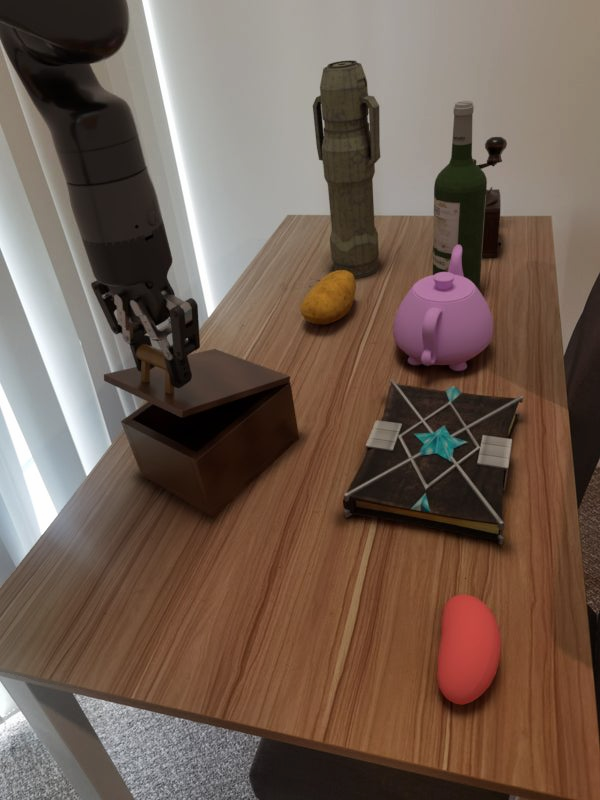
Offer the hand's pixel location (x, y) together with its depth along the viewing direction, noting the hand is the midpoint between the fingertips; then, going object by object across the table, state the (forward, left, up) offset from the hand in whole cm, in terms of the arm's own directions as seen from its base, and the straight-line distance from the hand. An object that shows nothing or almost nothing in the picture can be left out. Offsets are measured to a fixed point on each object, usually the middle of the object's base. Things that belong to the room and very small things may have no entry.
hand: (165, 375), depth 65 cm
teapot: (+31, -28, -16) cm, 45 cm away
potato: (+40, -9, -16) cm, 44 cm away
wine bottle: (+49, -29, -16) cm, 59 cm away
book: (+6, -29, -16) cm, 33 cm away
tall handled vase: (+58, -10, -16) cm, 61 cm away
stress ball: (-18, -33, -16) cm, 41 cm away
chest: (+4, -2, -16) cm, 16 cm away
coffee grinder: (+70, -31, -16) cm, 78 cm away
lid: (+4, -2, -4) cm, 6 cm away
